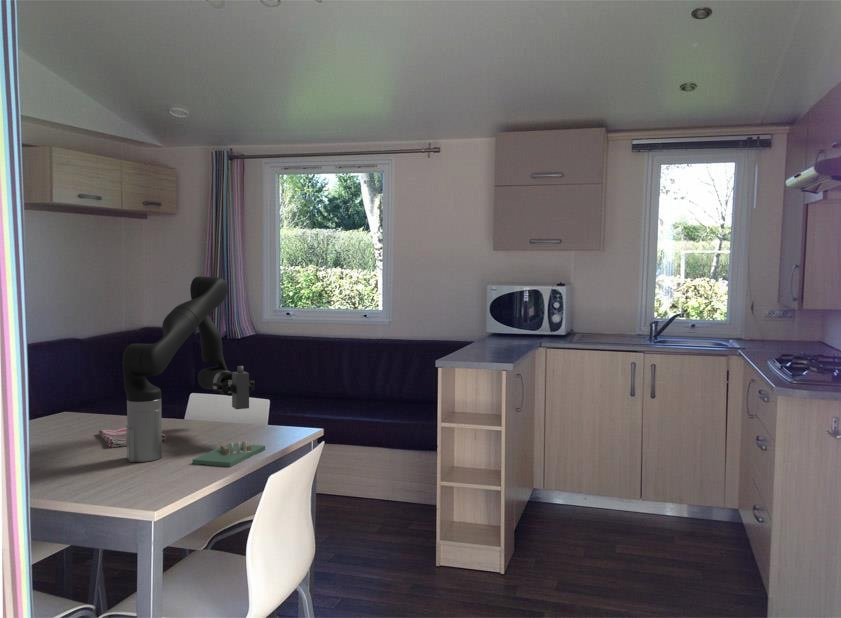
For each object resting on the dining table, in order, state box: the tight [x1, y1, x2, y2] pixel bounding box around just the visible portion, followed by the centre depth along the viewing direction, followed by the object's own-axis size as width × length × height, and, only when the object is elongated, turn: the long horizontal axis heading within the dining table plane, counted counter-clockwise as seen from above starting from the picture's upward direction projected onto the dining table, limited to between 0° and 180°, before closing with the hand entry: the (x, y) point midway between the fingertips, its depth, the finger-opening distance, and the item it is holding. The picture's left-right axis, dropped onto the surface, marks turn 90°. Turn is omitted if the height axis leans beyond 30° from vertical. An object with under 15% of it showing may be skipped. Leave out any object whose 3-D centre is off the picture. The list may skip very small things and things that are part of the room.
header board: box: [191, 440, 266, 468], centre depth 203 cm, size 20×12×4 cm, turn 165°
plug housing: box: [231, 365, 250, 410], centre depth 218 cm, size 4×5×13 cm
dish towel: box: [98, 427, 167, 448], centre depth 227 cm, size 17×23×4 cm
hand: (243, 389), depth 216 cm, fingers closed on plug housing, 4 cm apart
